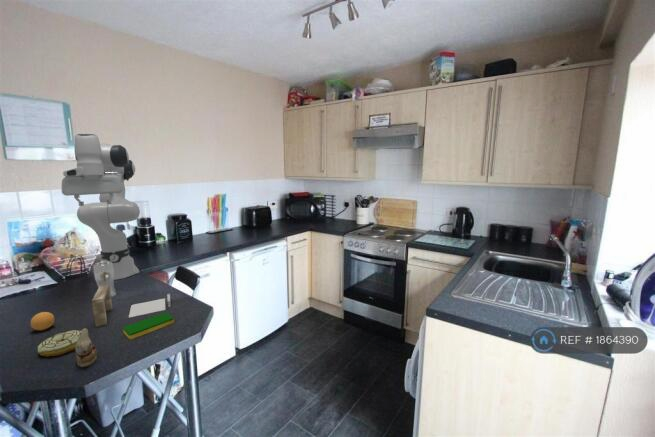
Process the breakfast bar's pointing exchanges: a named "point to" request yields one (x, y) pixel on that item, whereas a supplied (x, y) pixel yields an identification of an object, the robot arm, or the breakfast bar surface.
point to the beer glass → (105, 275)
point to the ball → (42, 321)
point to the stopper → (169, 300)
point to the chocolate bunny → (85, 350)
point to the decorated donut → (59, 343)
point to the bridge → (101, 305)
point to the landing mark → (147, 307)
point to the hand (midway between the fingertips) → (95, 205)
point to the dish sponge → (148, 325)
